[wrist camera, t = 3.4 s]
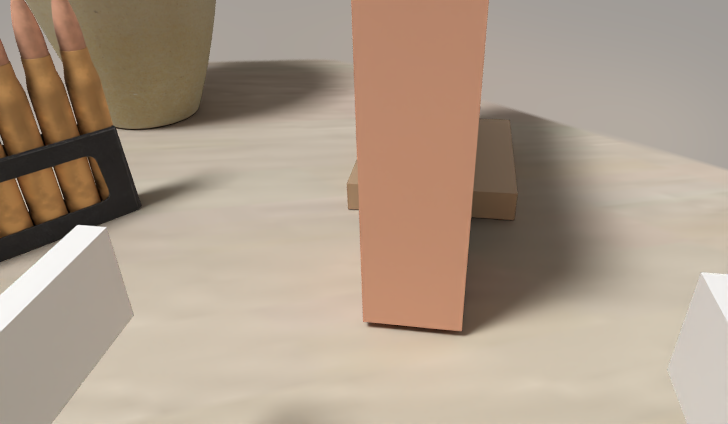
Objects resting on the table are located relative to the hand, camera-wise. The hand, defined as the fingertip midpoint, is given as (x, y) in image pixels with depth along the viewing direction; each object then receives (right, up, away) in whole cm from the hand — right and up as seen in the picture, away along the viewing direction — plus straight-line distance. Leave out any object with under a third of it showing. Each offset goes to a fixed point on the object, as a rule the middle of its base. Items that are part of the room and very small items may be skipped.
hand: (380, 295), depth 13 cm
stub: (+2, -1, +13) cm, 13 cm away
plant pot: (-17, +10, +33) cm, 38 cm away
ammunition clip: (-18, 0, +17) cm, 25 cm away
